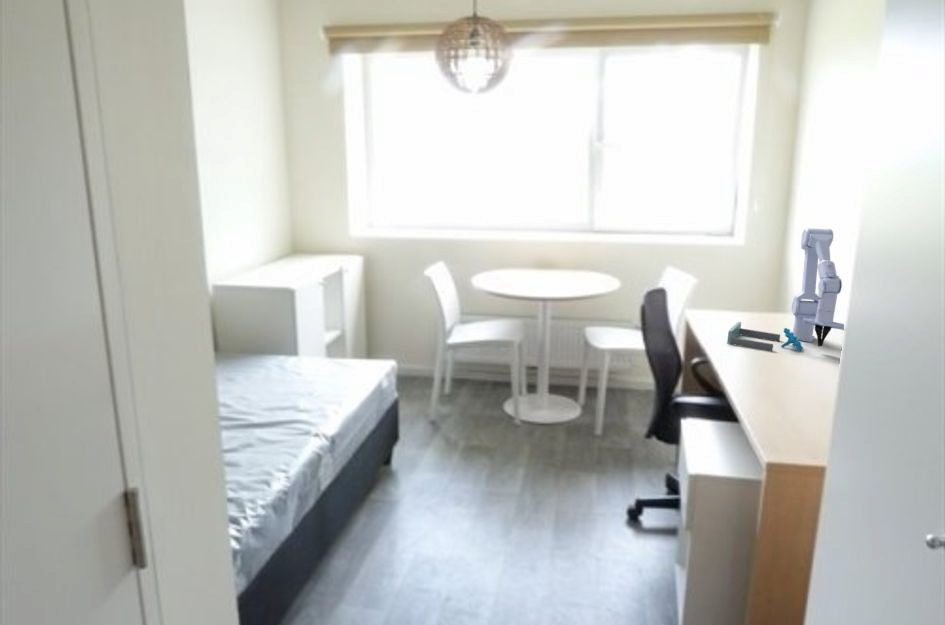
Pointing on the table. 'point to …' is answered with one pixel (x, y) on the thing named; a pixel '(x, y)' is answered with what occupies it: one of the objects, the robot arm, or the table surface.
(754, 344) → the grey open frame
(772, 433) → the table surface
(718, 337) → the table surface
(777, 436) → the table surface
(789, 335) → the gear
